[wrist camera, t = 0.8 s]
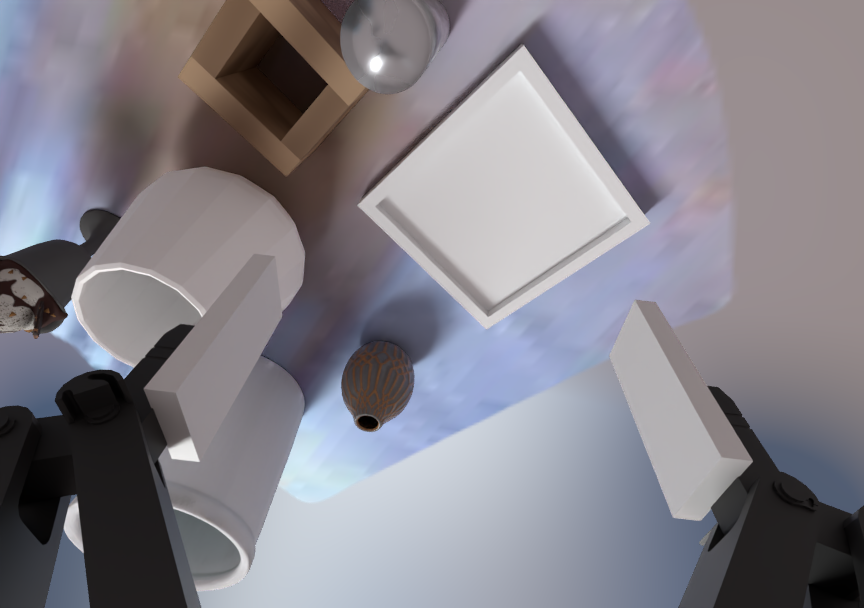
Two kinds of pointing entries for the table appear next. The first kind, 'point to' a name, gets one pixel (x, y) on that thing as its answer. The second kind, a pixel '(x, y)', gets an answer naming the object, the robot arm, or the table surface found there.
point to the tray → (504, 195)
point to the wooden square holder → (254, 93)
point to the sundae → (47, 277)
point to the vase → (377, 384)
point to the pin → (392, 41)
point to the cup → (181, 257)
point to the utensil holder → (230, 479)
